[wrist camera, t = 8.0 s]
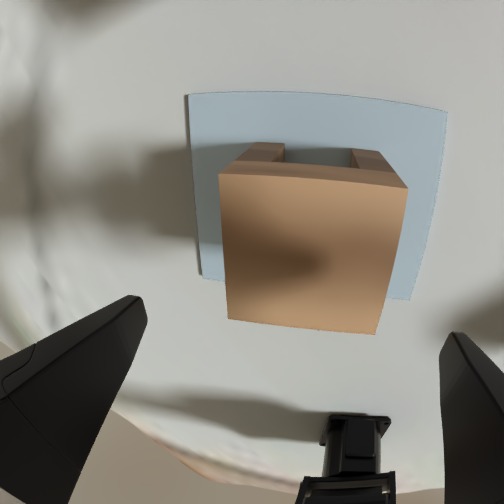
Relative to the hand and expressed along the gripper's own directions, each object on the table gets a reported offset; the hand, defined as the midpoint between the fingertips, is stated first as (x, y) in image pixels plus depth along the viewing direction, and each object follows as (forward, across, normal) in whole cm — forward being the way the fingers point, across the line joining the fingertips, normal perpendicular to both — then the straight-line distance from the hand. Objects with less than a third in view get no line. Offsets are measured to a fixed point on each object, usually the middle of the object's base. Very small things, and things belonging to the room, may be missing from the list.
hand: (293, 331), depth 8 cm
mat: (+11, 0, 0) cm, 11 cm away
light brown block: (+10, 0, 0) cm, 10 cm away
